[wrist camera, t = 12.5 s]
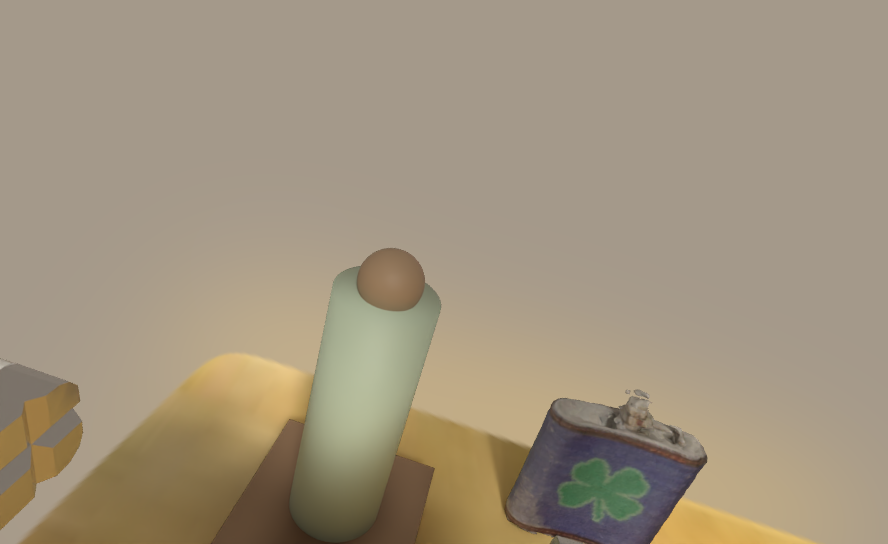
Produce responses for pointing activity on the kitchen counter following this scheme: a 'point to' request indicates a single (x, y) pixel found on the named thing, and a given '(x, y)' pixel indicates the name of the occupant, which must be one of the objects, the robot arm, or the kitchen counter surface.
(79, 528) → the kitchen counter surface
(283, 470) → the plinth
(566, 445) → the flask
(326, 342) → the pepper mill
